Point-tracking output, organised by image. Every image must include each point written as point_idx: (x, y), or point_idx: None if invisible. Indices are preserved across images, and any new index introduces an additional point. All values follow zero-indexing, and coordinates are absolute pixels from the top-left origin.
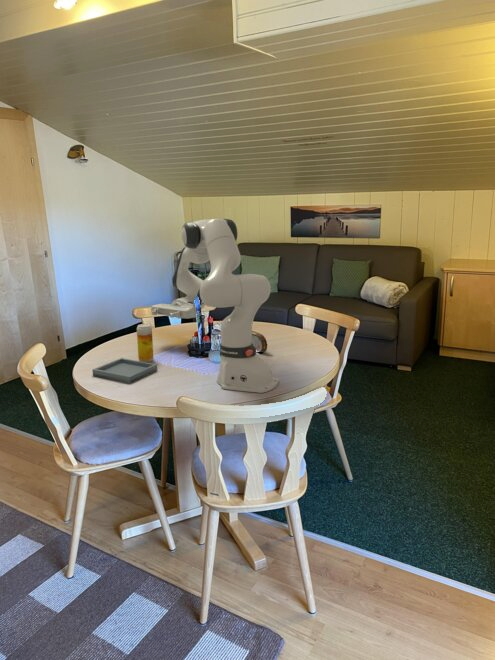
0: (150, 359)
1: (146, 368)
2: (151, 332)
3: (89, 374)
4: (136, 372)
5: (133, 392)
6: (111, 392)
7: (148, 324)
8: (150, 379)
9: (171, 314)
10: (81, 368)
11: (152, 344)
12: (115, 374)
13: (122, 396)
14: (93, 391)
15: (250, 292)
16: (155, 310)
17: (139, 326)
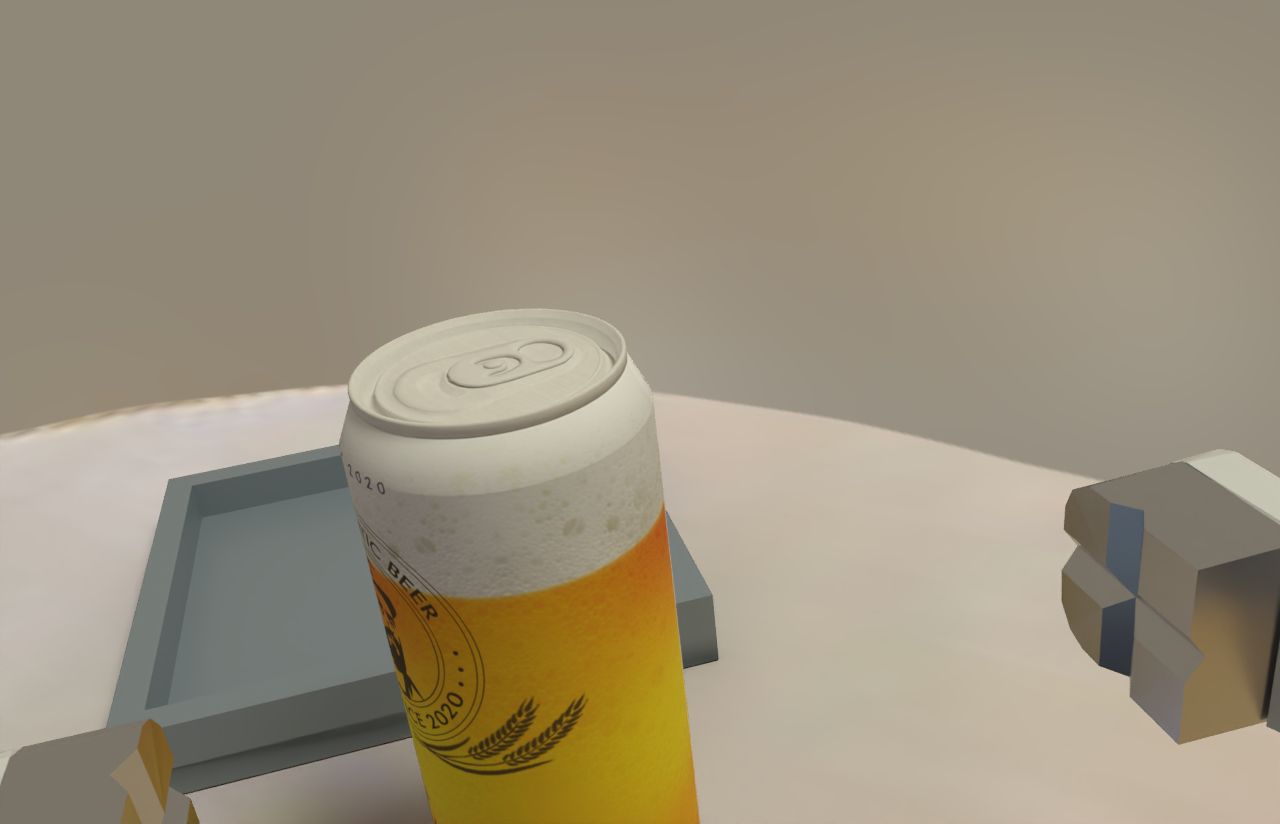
0: None
1: (150, 620)
2: (366, 540)
3: (662, 437)
4: (181, 536)
5: (45, 498)
6: (206, 434)
7: (492, 421)
8: (54, 653)
9: (22, 755)
10: (867, 437)
11: (426, 760)
12: (334, 447)
13: (85, 450)
14: (335, 392)
15: None
16: (1272, 541)
17: (538, 332)
